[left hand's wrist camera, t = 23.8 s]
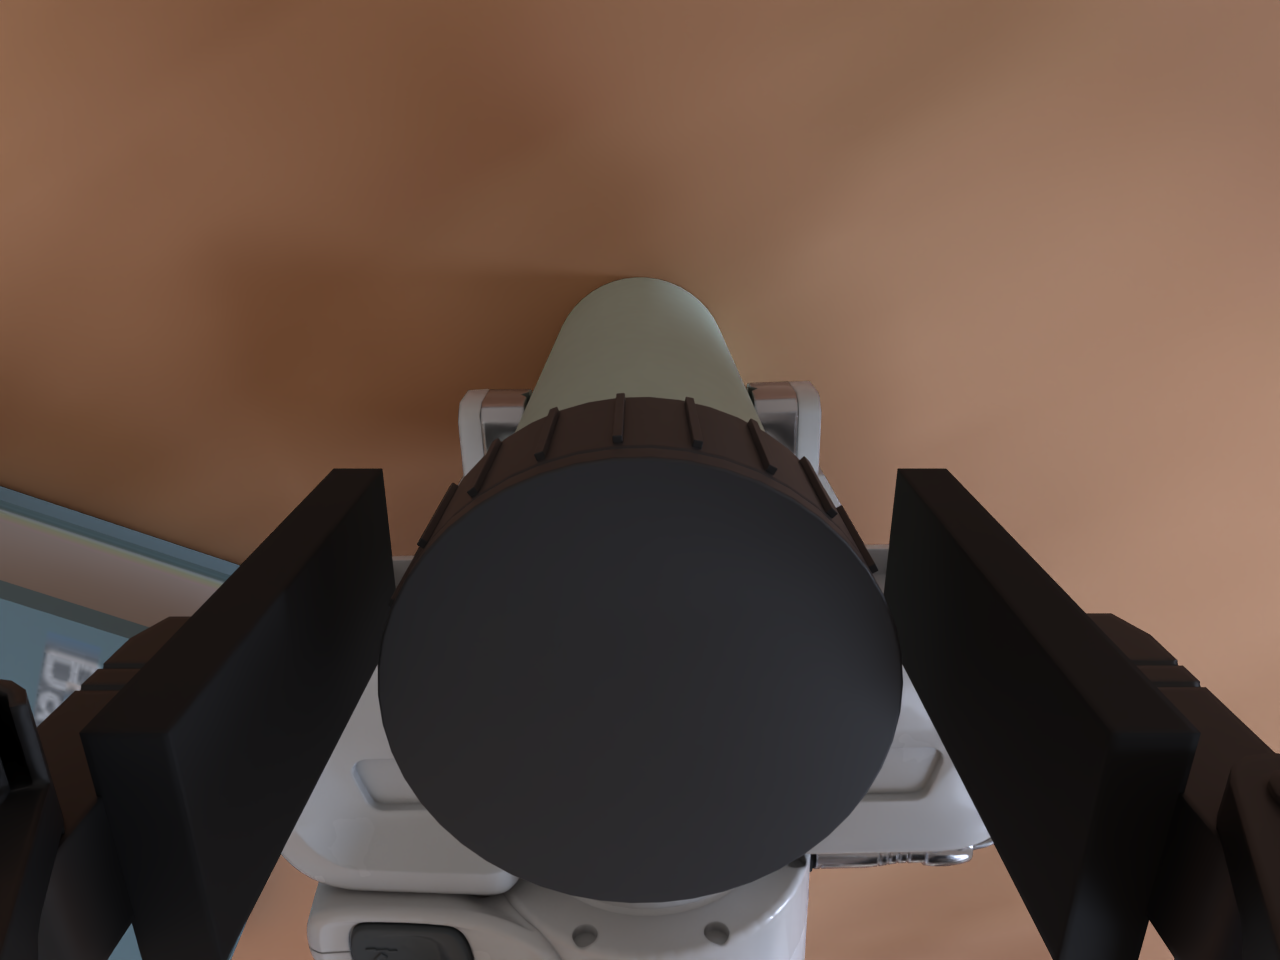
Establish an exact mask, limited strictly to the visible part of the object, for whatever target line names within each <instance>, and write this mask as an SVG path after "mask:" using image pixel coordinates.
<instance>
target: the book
mask: <svg viewBox="0 0 1280 960" xmlns="http://www.w3.org/2000/svg"><path fill="white" fill-rule="evenodd" d="M239 566H240V565H237V564H234V563H231V562H228V561H225V560H222V559H219V558H216V557H213V556H210V555H207V554H204V553H201V552H198V551H195V550H192V549H189V548H186V547H183V546H180V545H177V544H174V543H171V542H168V541H164V540H161V539H158V538H155V537H152V536H149V535H146V534H143V533H140V532H137V531H134V530H131V529H128V528H125V527H122V526H119V525H116V524H113V523H110V522H107V521H104V520H101V519H98V518H95V517H92V516H89V515H86V514H83V513H80V512H77V511H74V510H71V509H68V508H65V507H62V506H59V505H56V504H53V503H50V502H47V501H44V500H41V499H38V498H35V497H32V496H29V495H25V494H22V493H19V492H16V491H13V490H10V489H7V488H4V487H1V486H0V679H3V680H12V681H13V682H15V683H16V684H18V685H19V686H21V687H22V688H24V689H26V693H27V696H28V699H29V703H30V706H31V709H32V713H33V716H34V720H35V723H36V726H37V727H38V726H39V725H40V724H41V723H42V722H43V721H44V720H45V719H46V718H47V717H48V716H49V715H50V714H51V713H52V712H53V711H54V710H55V709H56V708H57V707H58V706H59V705H61V704H62V703H63V702H64V701H65V700H66V699H67V698H68V697H69V696H70V695H71V694H72V693H73V692H74V691H80V690H81V684H83V683H84V682H85V681H86V680H87V679H88V678H89V677H90V676H91V675H92V674H93V673H94V672H95V671H96V670H97V669H103V663H105V662H106V661H107V660H108V659H109V658H110V657H111V656H112V655H113V654H114V653H115V652H116V651H117V650H118V649H119V648H120V647H121V646H122V645H123V644H124V643H125V642H126V641H128V640H129V639H130V638H131V637H133V636H135V635H137V634H138V633H140V632H142V631H144V630H146V629H147V628H149V627H151V626H153V625H155V624H156V623H158V622H160V621H162V620H164V619H166V618H167V617H169V616H192V615H193V614H194V613H195V612H196V611H197V610H198V609H199V608H200V607H201V606H202V605H203V604H204V603H205V602H206V601H207V600H208V599H209V598H210V596H211V595H212V594H213V593H214V592H215V591H216V590H217V589H218V588H219V587H220V586H221V585H222V584H223V583H224V582H225V581H226V580H227V579H228V578H229V577H230V576H231V575H232V574H233V573H234V572H235V571H236V570H237V568H238V567H239ZM246 922H247V921H246ZM245 924H246V923H245ZM244 927H245V925H244ZM244 927H243V929H244ZM243 929H242V931H241V933H240V935H239V937H238V939H237V941H236V943H235V945H234V947H233V949H232V951H231V953H230V955H229V956H228V958H227V960H231V958H232V956H233V953H234V951H235V949H236V946H237V944H238V941H239V939H240V936H241V934H242V932H243ZM108 960H142V958H141V955H140V951H139V947H138V944H137V940H136V936H135V933H134V929H133V926H132V923H131V925H130V926H129V928H128V929H127V931H126V932H125V934H124V935H123V937H122V939H121V940H120V942H119V943H118V945H117V946H116V948H115V949H114V951H113V952H112V954H111V955H110V957H109V958H108Z"/></svg>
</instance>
